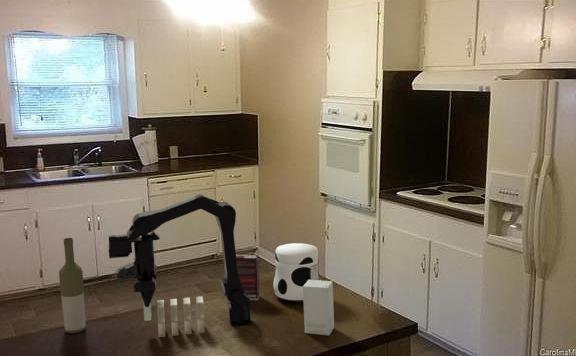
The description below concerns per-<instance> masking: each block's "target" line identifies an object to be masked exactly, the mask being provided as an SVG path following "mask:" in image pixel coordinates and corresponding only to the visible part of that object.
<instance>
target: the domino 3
mask: <svg viewBox="0 0 576 356" xmlns="http://www.w3.org/2000/svg"><path fill="white" fill-rule="evenodd" d="M169 301H170V302H169V303H170V306H169V307H170V321H171V337H174V336H176V337H177V336H179V334H180V333H179V316H178V315H179V314H178V299H177V298H170V299H169Z"/></svg>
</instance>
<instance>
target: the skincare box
mask: <svg viewBox="0 0 576 356" xmlns="http://www.w3.org/2000/svg"><path fill="white" fill-rule="evenodd" d="M302 302H303V317H304V318H303V323H304V333H305V334H310V335H319V336H330V335H331V333H332V332H333V330H334V328H335V313H334V311H335V310H334V285H333V280H332V281H331V280H321V279H320V280H308V281H307V282H306V283H305V285H304V286H303V301H302Z"/></svg>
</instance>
